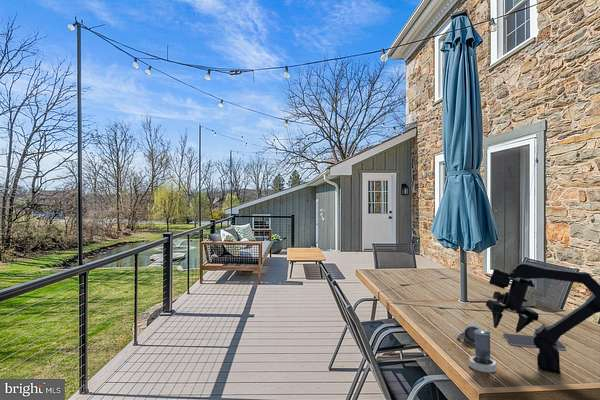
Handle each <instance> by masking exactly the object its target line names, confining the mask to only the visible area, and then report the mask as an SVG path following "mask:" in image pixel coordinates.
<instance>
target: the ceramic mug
mask: <svg viewBox="0 0 600 400" xmlns="http://www.w3.org/2000/svg"><path fill="white" fill-rule="evenodd" d="M478 329H480V330H483V329H482V328H481V326H480V325H478V324H477V323H469V324H468V325H466V327H465V329H464V330H463V332H461V333H459V334H458V335H457V339H458V340H463V339H464V340H466V341H467V342H468V343H470V344H473V345H475V330H478Z"/></svg>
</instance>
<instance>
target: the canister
mask: <svg viewBox="0 0 600 400" xmlns="http://www.w3.org/2000/svg"><path fill="white" fill-rule="evenodd" d="M474 353H475V355H474V356H475V362H476V363H479V364H484V365H489V364H491V359H492V358H491V332H490V331H488V330H487V329H482V330H480V329H478V330H475V344H474Z"/></svg>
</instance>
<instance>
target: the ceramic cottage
mask: <svg viewBox="0 0 600 400" xmlns="http://www.w3.org/2000/svg"><path fill="white" fill-rule="evenodd" d="M535 292H536V290H535V288H534V287H531V286H529V287H528V290H527V293H526V296H525V299H526V300H527V301H526V302H524V303H523V306H522V307H536V306H537V302H536V296H535Z"/></svg>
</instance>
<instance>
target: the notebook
mask: <svg viewBox="0 0 600 400" xmlns="http://www.w3.org/2000/svg"><path fill="white" fill-rule="evenodd" d="M503 337H504V338H505V340H506V341H508V344H510V345H511V346H517V347H527V348H535V349H536V348H537V347H536V346H535V345H534V342H533V335H525V334H514V333H513V334H512V333H503ZM556 344H557V345H558V350H559V351H566V349H567V348H566V346H565V345H564V344H562V342H560V341H559V339H558V340H557V342H556ZM537 349H538V348H537Z"/></svg>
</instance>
